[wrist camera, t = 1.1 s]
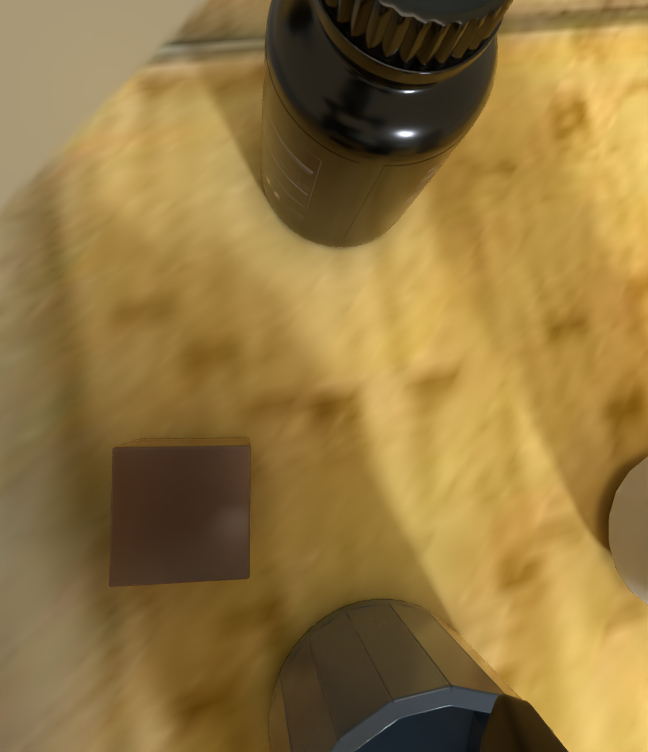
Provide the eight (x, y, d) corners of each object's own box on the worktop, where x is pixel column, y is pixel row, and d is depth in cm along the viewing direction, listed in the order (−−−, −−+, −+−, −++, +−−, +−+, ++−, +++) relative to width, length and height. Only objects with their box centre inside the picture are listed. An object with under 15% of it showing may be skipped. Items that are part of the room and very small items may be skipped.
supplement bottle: (368, 84, 23) (505, -262, 11) (430, 219, 23) (632, 18, 11) (230, 133, 22) (219, -197, 10) (297, 275, 22) (364, 117, 10)
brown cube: (137, 548, 20) (108, 587, 16) (139, 438, 20) (112, 447, 16) (247, 543, 21) (249, 579, 16) (248, 437, 21) (250, 445, 17)
